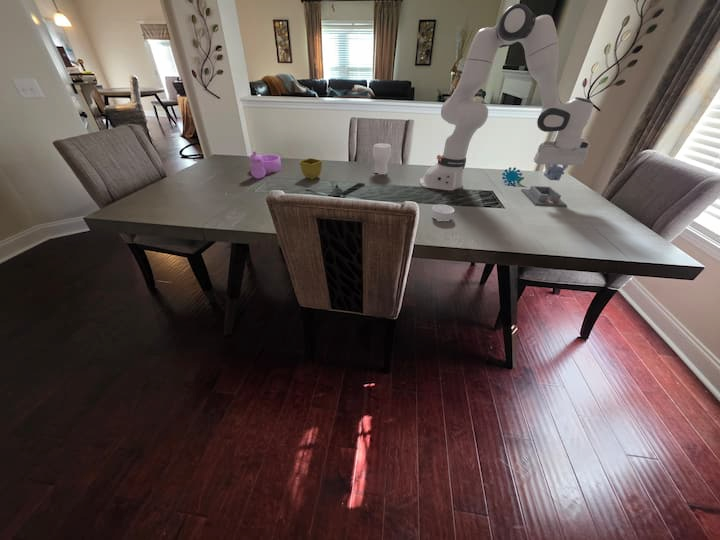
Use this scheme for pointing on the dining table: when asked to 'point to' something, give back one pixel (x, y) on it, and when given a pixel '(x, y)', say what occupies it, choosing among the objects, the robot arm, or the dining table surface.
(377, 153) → the cup
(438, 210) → the ramekin
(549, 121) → the robot arm
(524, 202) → the dining table surface
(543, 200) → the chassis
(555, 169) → the servo
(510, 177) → the blue virus model
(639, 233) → the dining table surface
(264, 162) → the container set
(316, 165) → the flower pot
